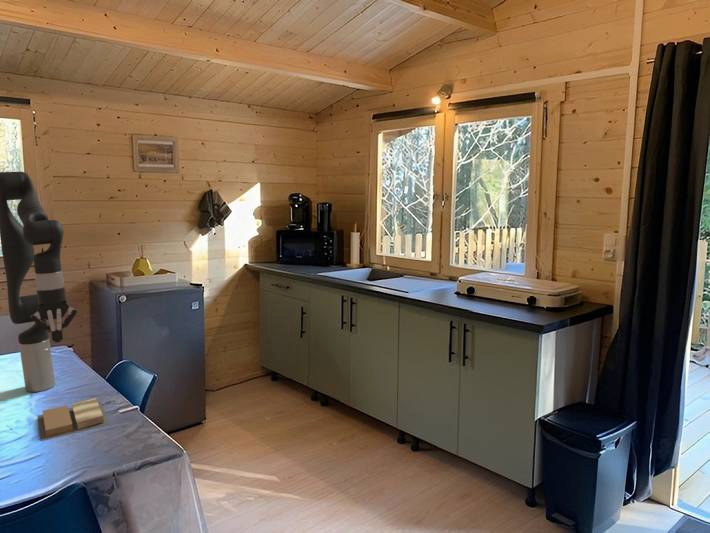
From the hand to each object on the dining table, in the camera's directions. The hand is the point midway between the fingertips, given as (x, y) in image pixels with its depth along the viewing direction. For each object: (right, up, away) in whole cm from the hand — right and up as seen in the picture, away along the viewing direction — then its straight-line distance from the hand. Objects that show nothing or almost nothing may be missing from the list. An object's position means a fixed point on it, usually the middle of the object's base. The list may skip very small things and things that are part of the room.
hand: (57, 341), depth 171 cm
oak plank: (+10, -22, -1) cm, 24 cm away
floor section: (+6, -24, -3) cm, 25 cm away
